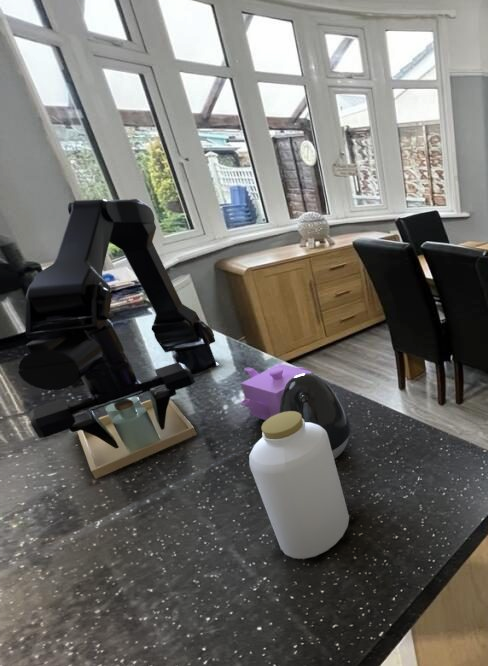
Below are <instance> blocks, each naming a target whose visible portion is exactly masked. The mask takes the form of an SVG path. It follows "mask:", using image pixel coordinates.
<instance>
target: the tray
mask: <svg viewBox="0 0 488 666" xmlns="http://www.w3.org/2000/svg"><path fill="white" fill-rule="evenodd" d="M141 404H142V406H143V408H146V409H147V412H148V414H149V416H150V418H151V420H152V422H153V424H154V426H155V428H156V430H157V432H158V435H159V437H160V439H161V440H160V441H157V442H155V443H153V444H150V445H148V446H145V447H143V448H141V449H138V450H136V451H134V452H131V453H129V454H128V452H127V450H126V448H125V447H124V445H123V443H122V441H121V439H120V437H119V435H118V433H117V431H116V430H115V428H114V426H113V424H112V422H111V420H110V418H109V416H108V414H107V415H104V416H100V417H98V418H99V420H100V421H101V422H102V423H103V425H104V426H105V427H106V428H107V430H108V431H109V432H110V433H111V435H112V436H113V437H114V439H115V441H116V442H117V444H118V446H119V448H117V449H116V448H114V447H112V446H111V445H109V444H108V443H106V442H104V441H103V440H101V439H100V438H98V437H96V436H94V435H91V434H89V433H87V432H84V431H82V430H79V431H76V433H77V435H78V438H79V441H80V444H81V446H82V449H83V452H84V455H85V457H86V462H87V463H88V466H89V468H90V471H91V473H92V475H93V477H94V478H95V479H99V478H101V477H103V476H106V475H109V474H110V473H112V472H114V471H117V470H119V469H122V468H124V467H127V466H128V465H131V464H133V463H135V462H138V461H139V460H142V459H145V458H147V457H149V456H152V455H153V454H156V453H158V452H160V451H163V450H165V449H167V448H169V447H172V446H174V445H176V444H179V443H181V442H183V441H186V440H188V439H190V438H193V437H195V436H197V435H198V433H197V432H196V429H195V427H194V426H193V425H192V423H191V422H190V421H189V420H188V418H187V417H186V416H185V414H183V412H182V411H181V410H180V409H179V407H178V406H177V405H176V403H175V402H174V401H173V400H172V398H170V400H169V404H168V407H167V411H166V419H165V428H164V429H163V430H161V428H160V427H159V424H158V422H157V420H156V416H155V413H154V409H153V405H152V402H151V399H148V400H144V401H143V402H141Z"/></svg>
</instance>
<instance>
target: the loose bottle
mask: <svg viewBox="0 0 488 666" xmlns="http://www.w3.org/2000/svg"><path fill="white" fill-rule="evenodd" d="M133 404H134V403H133V401H132V399H125V400H121V401H119V402H117V403H115V404H114V407H115V409H116V410H117V411H118V413H119V414H118V415H116V416H115V417H114V418H113V419H112V421H111V422H112V424H113V426H114V428H115V430H116V431H117V433H118V435H119V437H120V439H121V441H122V443H123V445H124V447H125V448H126V450H127V452H128V454H129V453H131V452H134V451H136V450H138V449H141V448H143V447H145V446H148V445H150V444H153V443H155V442H157V441H160V440H161V439H160V437H159V435H158V432H157V430H156V428H155V426H154V424H153V422H152V420H151V418H150V416H149V414H148V412H147V409H146V408H142V407H140V408H135V407H134V405H133Z"/></svg>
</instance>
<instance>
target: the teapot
mask: <svg viewBox="0 0 488 666" xmlns="http://www.w3.org/2000/svg"><path fill="white" fill-rule="evenodd" d="M243 370H244V371H246V373H247V374H248V375H249V376H250V378H248V379H247V380H245V381H243V382H241V383H240V386H241V388H242V391H243V394H244V397H245V398H244V399H243V400H242V401H241V402H240V405H242V406H244V407H246V408H249V411H250V414H251V416H252V417H254V418H257V419H260V420H264V421H266V420H267V419H269V418H270V417H272V416H274V415H276V414H279V410H280V401H281V396H282V393H283V390H284V388H285V386H286V384H287V382H288V381H289V380H290V379H291V378H293V377H294V376H296V375H299V374H303V373H310V374H314V375H315V373H314V372H313V371H310V370H307V368H305V367H302V366H297V367H295V366H291V365H286V364H284V363H283V364H282V363H278V364H275V365H274V366H272V367H269V368H268V369H266V370H264V371H262V372H260V373H259V372H258V371H257V370H255V368H253V367H251V366H250V367H249V366H247V367H244V368H243Z"/></svg>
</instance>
